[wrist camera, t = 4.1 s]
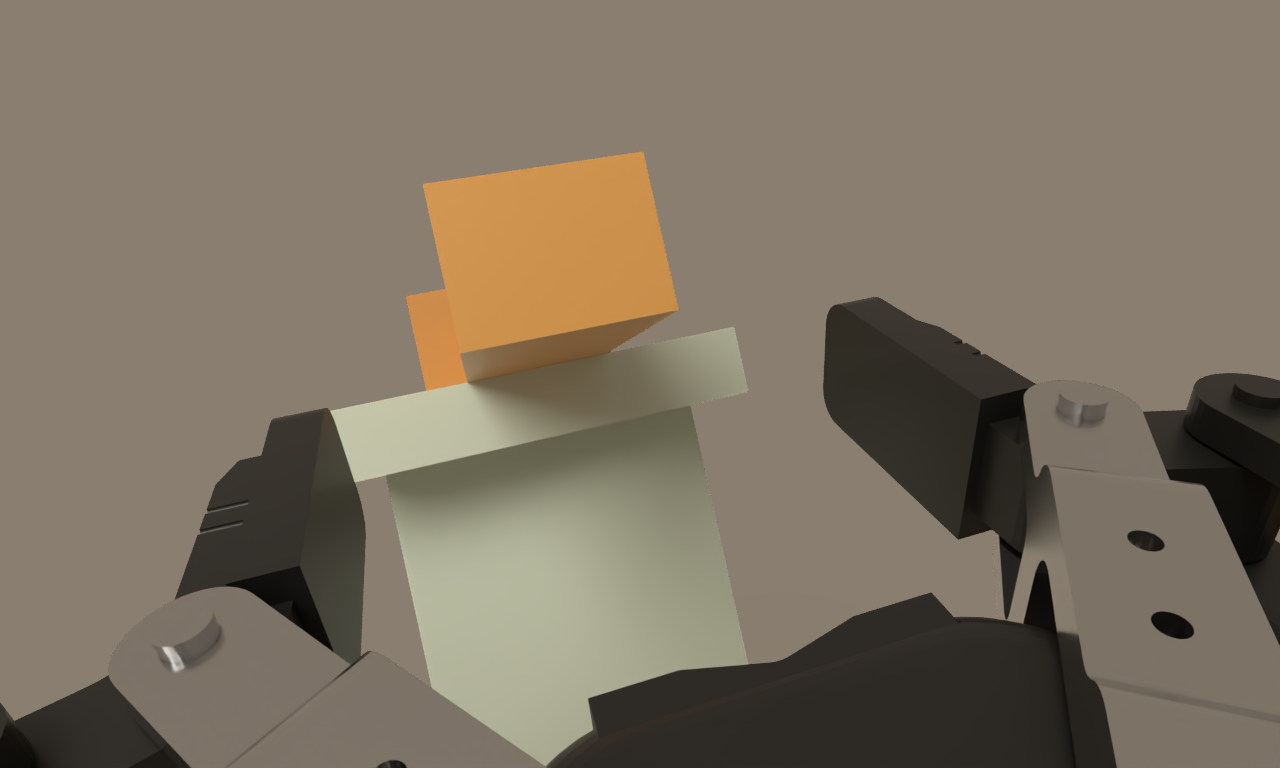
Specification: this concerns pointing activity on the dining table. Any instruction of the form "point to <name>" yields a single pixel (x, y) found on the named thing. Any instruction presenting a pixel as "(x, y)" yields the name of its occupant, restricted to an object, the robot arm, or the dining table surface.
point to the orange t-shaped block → (540, 268)
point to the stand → (559, 530)
